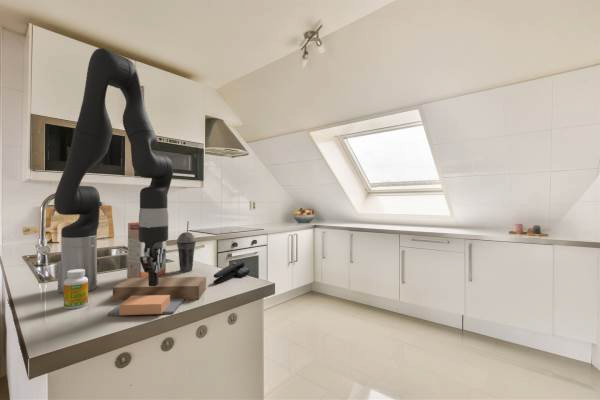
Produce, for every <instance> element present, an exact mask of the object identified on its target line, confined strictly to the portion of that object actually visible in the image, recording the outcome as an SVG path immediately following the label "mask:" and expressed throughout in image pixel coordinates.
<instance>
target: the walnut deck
mask: <svg viewBox="0 0 600 400" xmlns="http://www.w3.org/2000/svg"><path fill="white" fill-rule="evenodd" d="M206 289H207V276H177V277H172V276H171V277H169V276H168V277H159V283H158V285H156V286H149V278H128V279H127V278H126V279H124V280H122V281H121V282H119V283H118V284H116V285H115V286H112V302H124V301H125V300H127V299H128V298H130V297H131V296H147V295H170V299H177V298H184V301H189V300H191V301H192V300H193V301H195V300H200V298H202V295H203V294H204V293H205V291H206Z"/></svg>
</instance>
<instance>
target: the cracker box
mask: <svg viewBox="0 0 600 400" xmlns="http://www.w3.org/2000/svg"><path fill="white" fill-rule="evenodd" d="M162 247H163V249H165V250H166V252H165V256H164V260H163V264H162V268H160V271H158V272H159V276H162V275H165V274H166V271H167V270H166V266H167V259H166V258H167V241H164V242H162ZM144 248H145V243H144V242H140V241H139V221H134V222H128V223H127V261H126V262H127V270H126V279H128V278H149V273H147V272H144V269H143V267H142V264H141V262H140V257H143V256H144Z"/></svg>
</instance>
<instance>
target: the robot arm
mask: <svg viewBox="0 0 600 400" xmlns="http://www.w3.org/2000/svg"><path fill="white" fill-rule="evenodd" d="M141 85H142V84H141V81H140V77H139V73H138V70H137V67H136V65H135V64H134V62H133V61H132V60H130V59H128V58H127V57H124V56H122V55H120V54H118V53H116V52H113V51H112V50H109V49H106V48H103V47H100V48H99V47H98V48H97V49H95V50H94V51H93V52H92V54H91V56H90V58H89V61H88V66H87V71H86V77H85V86H84V92H83V97H82V102H81V106H80V111H79V116H78V119H77V121H76V124H75V129H74V132H73V136H72V140H71V144H70V145H71V146H70V149H69V152H68V153H69V154H68V157H67V160H66V164H65V167H64V170H63V171H62V172H63V173H62V174H61V178H60V180H59V182H58V185H57V187H56V189H55V193H54V198H53V199H54V200H53V206H54V209H55V212H56V213H58V214H59V215H62V216H76V215H79V217H78V219H76V221H73V222H72V223H70V224H68V225H65V226H64V227H62V228H61V231H60V232H61V233H60V236H61V237H60V239H61V242H60V243H61V245H60V247H61V248H60V249H61V250H60V251H61V253H60V257H61V259H60V260H59V261H58V262H57V293H62V294H64V281H65V280H66V279H68V277H67V271H70V270H74V269H85V275H84V277H87V278H88V292H89V291H93V290H95V289H96V288H97V286H98V284H97V282H98V277H97V276H98V228H99V225H100V210H101V196H100V193H99V191H98V189H97V188H96V187H94V186H92V185H91V186H90V185H81V183H82V180H83V179H84V177H85V175H86V174H87V173H88V172H89V171H90V170H91V169H92V168H94V166H96V164H98V163H99V162H100V161H101V160H103V158H104V157H105V156H106V155H107V153H108V151H109V149H110V148H109V147H110V144H111V141H112V138H113V131H114V130H113V125H112V122H111V119H110V116H109V113H108V111H107V107H106V98H107V97H106V95H107V90H108V87H109V86H110V87H113V88H116V89H119V90H120V91H121V93H122V95H123V97H124V98H125V106H124V110H123V114H122V124H123V125H122V126H123V129H124V131H125V133H126V136H127V138H128V141H129V144H130V155H131V157H130V158H131V164H132V168H133V171H135V173H136V174H137V175H138V176H139V177H141V178H144V179H151V180H150V181H151V182H150V183H149V184H150V185H148V186H145V187H143V188H142V189H141V190H140V192H139V213H138V222H139V241H140V242H144V243H145V248H144V256H143V257H140V262H141V264H142V267H143V269H144V272H147V273H149V286H156V285H158V283H159V278H160V277H159V272H158V271H160V268H162V264H163V260H164V256H165V252H166V253H167V249H166V250H165V249H163V247H162V242H164V241H166V242H167V241H168V240H169V213H168V212H169V211H168V193H169V190H170V187H171V183H172V179H173V176H174V164H173V162H172V160H171V158H170V157H168V156H167V155H165V154H160V153H159V154H158V153H154V152H153V149H155V147H156V146H157V145H158V138H157V135H156V133H155V130H154V127H153V126H152V122H151V120H150V118H149V115H148V111H147V109H146V106H145V105H146V104H145V100H144V94H143V90H142V86H141Z"/></svg>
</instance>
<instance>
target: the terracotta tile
mask: <svg viewBox="0 0 600 400" xmlns="http://www.w3.org/2000/svg"><path fill="white" fill-rule="evenodd" d="M122 302H123V303H122ZM122 302H121V303H122V304H121V303H120V304H118V305H119V315H118V316H134V315H135V316H137V315H138V316H139V314H145V315H163V314H162V312H163V311H164V310H165V309H166V308H167V307H168V306H169V304H170V295H147V296H131V297H130V298H128V299H127V300H126V301H122Z"/></svg>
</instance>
